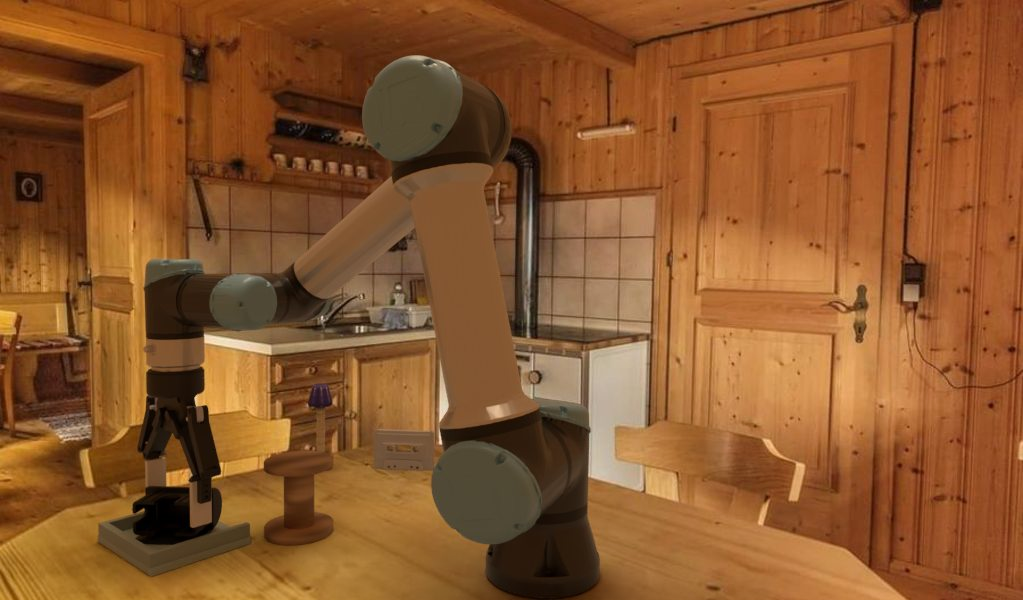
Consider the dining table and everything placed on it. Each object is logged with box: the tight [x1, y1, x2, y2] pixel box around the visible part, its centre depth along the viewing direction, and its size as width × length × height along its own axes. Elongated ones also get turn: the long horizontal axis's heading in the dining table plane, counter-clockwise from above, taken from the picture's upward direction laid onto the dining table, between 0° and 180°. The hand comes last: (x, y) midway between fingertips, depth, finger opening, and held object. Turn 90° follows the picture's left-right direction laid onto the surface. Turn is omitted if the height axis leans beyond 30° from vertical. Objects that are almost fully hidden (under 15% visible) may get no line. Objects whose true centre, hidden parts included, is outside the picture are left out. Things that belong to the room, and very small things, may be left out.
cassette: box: [373, 428, 435, 471], centre depth 137 cm, size 12×2×8 cm, turn 86°
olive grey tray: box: [97, 510, 252, 578], centre depth 100 cm, size 17×14×3 cm
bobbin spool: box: [263, 450, 334, 546], centre depth 104 cm, size 10×10×11 cm
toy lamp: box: [307, 383, 333, 470], centre depth 135 cm, size 5×5×17 cm
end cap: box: [131, 485, 223, 545], centre depth 100 cm, size 10×7×7 cm
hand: (177, 512), depth 100 cm, fingers open, 13 cm apart
